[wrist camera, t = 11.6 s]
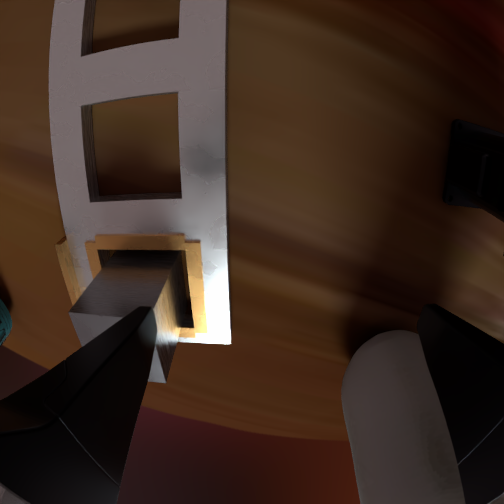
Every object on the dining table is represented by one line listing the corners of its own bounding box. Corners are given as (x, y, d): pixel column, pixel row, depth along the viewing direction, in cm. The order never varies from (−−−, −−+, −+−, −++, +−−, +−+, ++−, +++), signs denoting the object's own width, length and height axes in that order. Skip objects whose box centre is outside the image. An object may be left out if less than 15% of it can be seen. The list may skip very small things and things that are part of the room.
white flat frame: (230, -59, 12) (228, -75, 9) (231, 331, 25) (230, 351, 23) (64, -23, 12) (47, -31, 9) (95, 322, 25) (85, 339, 23)
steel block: (180, 249, 22) (149, 319, 14) (187, 306, 24) (166, 383, 17) (118, 248, 22) (68, 312, 14) (130, 303, 24) (94, 373, 17)
